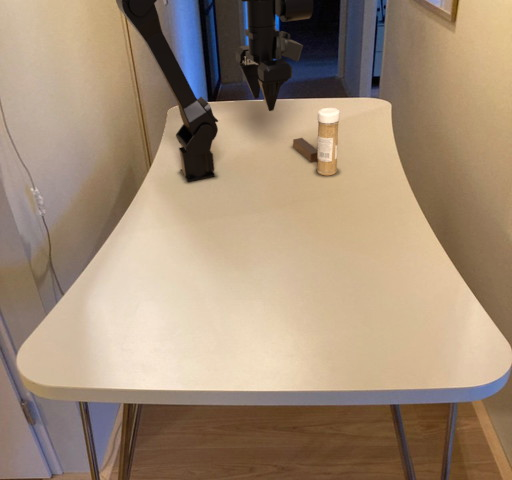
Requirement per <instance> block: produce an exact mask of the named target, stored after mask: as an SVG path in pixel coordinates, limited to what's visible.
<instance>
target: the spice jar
mask: <svg viewBox="0 0 512 480" xmlns="http://www.w3.org/2000/svg"><path fill="white" fill-rule="evenodd" d="M340 114H341V113H340V110H339V108H336V107H324V108H320V109H319V110H318V111H317V123H318V131H317V150H318V155H317V157H318V161H317V168H316V172H317V174H319V175H320V176H326V177H327V176H333V175H335V174H337V172H338V153H339V151H338V148H339V122H340V118H341V117H340V116H341V115H340Z"/></svg>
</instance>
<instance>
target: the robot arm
mask: <svg viewBox="0 0 512 480" xmlns="http://www.w3.org/2000/svg"><path fill="white" fill-rule="evenodd" d="M157 1H158V0H115V3H116V5H117V8H118V9H119V11H120V12H121V13H122V14H123V16H124V17H125V19H126V20H127V21H128V22H129V24H130V25H131V26H132V27H133V29H134V30H135V31H136V32H137V33H138V35H139V36H140V37H141V38H142V40H143V42H144V43H145V46H146V48H147V49H148V51H149V53H150V54H151V56H152V58H153V60H154V62H155V64H156V66H157V67H158V69H159V71H160V73H161V75H162V76H163V79H164V80H165V82H166V84H167V86H168V88H169V90H170V91H171V93H172V95H173V97H174V98H175V101H176V102H177V106H178V110H179V115H180V118H181V120H182V123H183V124H182V125H181V127H180V128H179V129H178V130H177V132H176V133H175V138H176V140H177V142H178V143H179V145H180V147H178V151H179V158H180V165H181V169H180V170H179V172H180V173H181V175H182V176H183V177H184V180H186V182H188V183H190V182H194V181H195V182H196V181H200V180H205V179H209V178H215V176H216V174H215V164H214V154H213V152H212V151H211V149H212V144H213V142H214V140H215V138H216V137H217V134H218V132H219V128H218V125H217V123H218V122H219V119H217V118H216V117H215V115H214V113H213V110H212V107H211V104H210V103H209V102H207V101H208V100H205V98H203V97H202V96H199V98H197V97H196V95H195V93H194V91H193V89H192V87H191V85H190V83H189V81H188V79H187V77H186V75H185V73H184V71H183V70H182V68H181V65H180V63H179V62H178V59H177V58H176V56H175V54H174V52H173V50H172V48H171V46H170V45H169V42H168V40H167V38H166V37H165V35H164V32H163V29H162V24H161V21H160V16H159V13H158V10H157V7H156V5H155V3H156V2H157ZM239 1H240V2H243V3H245V2H246V17H247V19H246V21H247V28H246V29H244V36H246V37H247V43H248V44H247V45H241V46H238V47H237V49H236V50H235V61H236V62H237V63H238V67H239V69H240V71H241V73H242V74H243V77H244V79H245V81H246V83H247V86H248V88H249V90H250V92H251V96H252V97H253V99H254V100H257V99H258V100H259V98H260V95H261V94H262V96H263V99H264V101H265V105H266V107H267V111H269V112H274V110H275V107H276V104H277V100H278V96H279V93H280V89H281V87H282V86H283V85H284V83H286V82H288V81H289V80H290V79H292V78H293V66H292V65H291V64H290V63H288V62H287V61H286V60H284V59H282V57H284V58H285V57H286V58H288V59H291V60H293V61H295V62H299V61H300V58H301V53H302V50H303V47H304V45H303V44H301V43H299V42H297V41H295V40H293V39H291V34H290V33H288V32H286V31H282V30H279V29H277V21H276V20H277V19H276V17H277V18H279V19H280V21H281V22H282V23H284V22H293V21H301V20H308V19H310V18H311V17H312V15H313V12H314V0H239ZM261 92H262V93H261Z"/></svg>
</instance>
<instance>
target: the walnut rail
mask: <svg viewBox="0 0 512 480" xmlns="http://www.w3.org/2000/svg"><path fill="white" fill-rule="evenodd" d="M292 147H293V149H295V151H296V152H298V153H299V154H300V155H301V156H303V158H305V159H306V160H308V161H309V162H310V163H313V162H318V157H317V155H318V148H316V147H315V146H313V145H312V144H311V143H309V142H308V141H307V140H306V139H304V138H303V137H298V138H293V140H292Z"/></svg>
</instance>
